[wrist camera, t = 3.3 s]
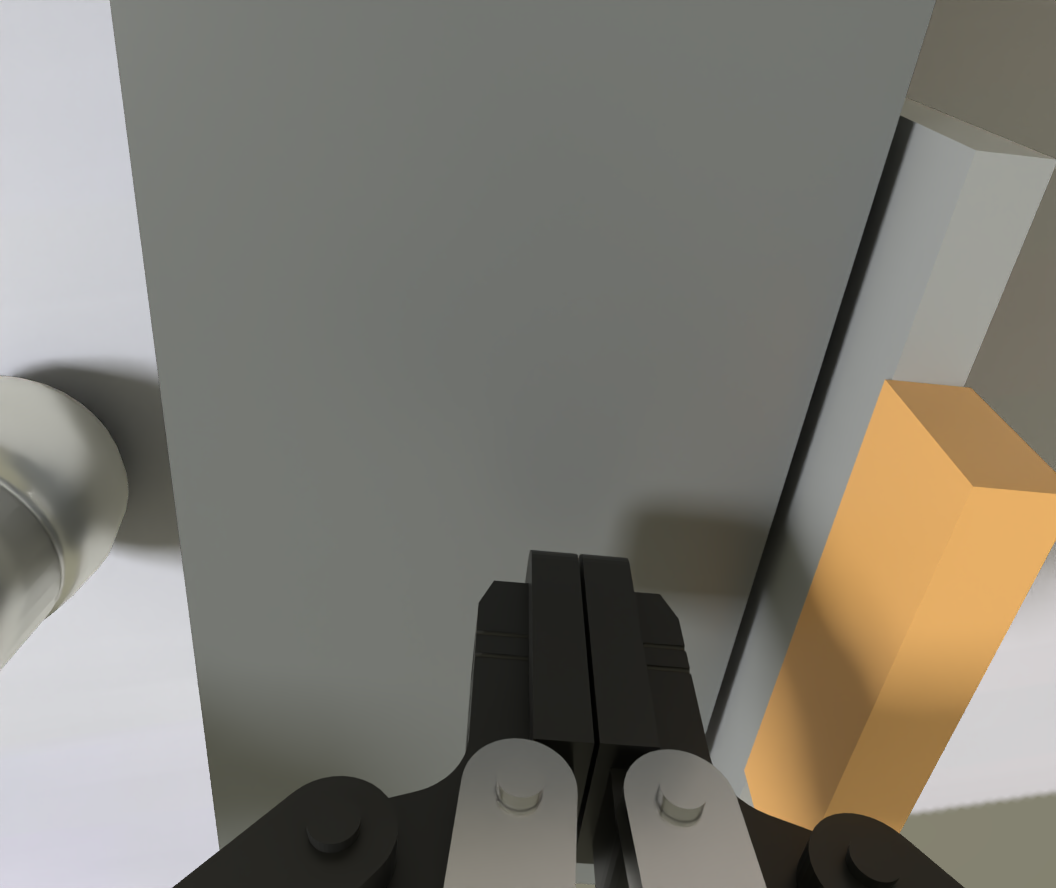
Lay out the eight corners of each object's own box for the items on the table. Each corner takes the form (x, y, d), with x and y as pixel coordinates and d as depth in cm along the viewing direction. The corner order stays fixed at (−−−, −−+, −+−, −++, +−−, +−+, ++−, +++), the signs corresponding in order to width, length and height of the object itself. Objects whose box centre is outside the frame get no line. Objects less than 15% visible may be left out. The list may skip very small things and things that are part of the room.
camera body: (290, -304, 16) (35, -571, 8) (792, -234, 17) (1065, -410, 8) (315, 576, 28) (221, 861, 19) (616, 600, 28) (657, 888, 20)
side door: (754, 49, 19) (1098, 210, 8) (806, 55, 19) (1224, 224, 8) (644, 544, 26) (736, 1009, 15) (682, 547, 26) (803, 1012, 15)
